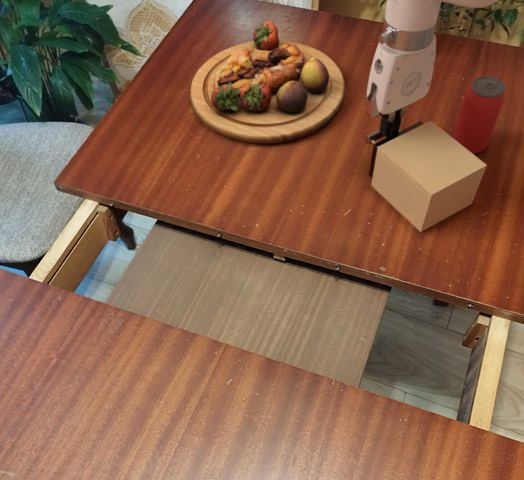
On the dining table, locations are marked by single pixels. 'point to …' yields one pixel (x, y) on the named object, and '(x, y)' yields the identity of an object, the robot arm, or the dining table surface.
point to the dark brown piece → (383, 142)
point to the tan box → (426, 175)
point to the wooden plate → (267, 89)
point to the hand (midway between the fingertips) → (388, 134)
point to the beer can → (479, 113)
